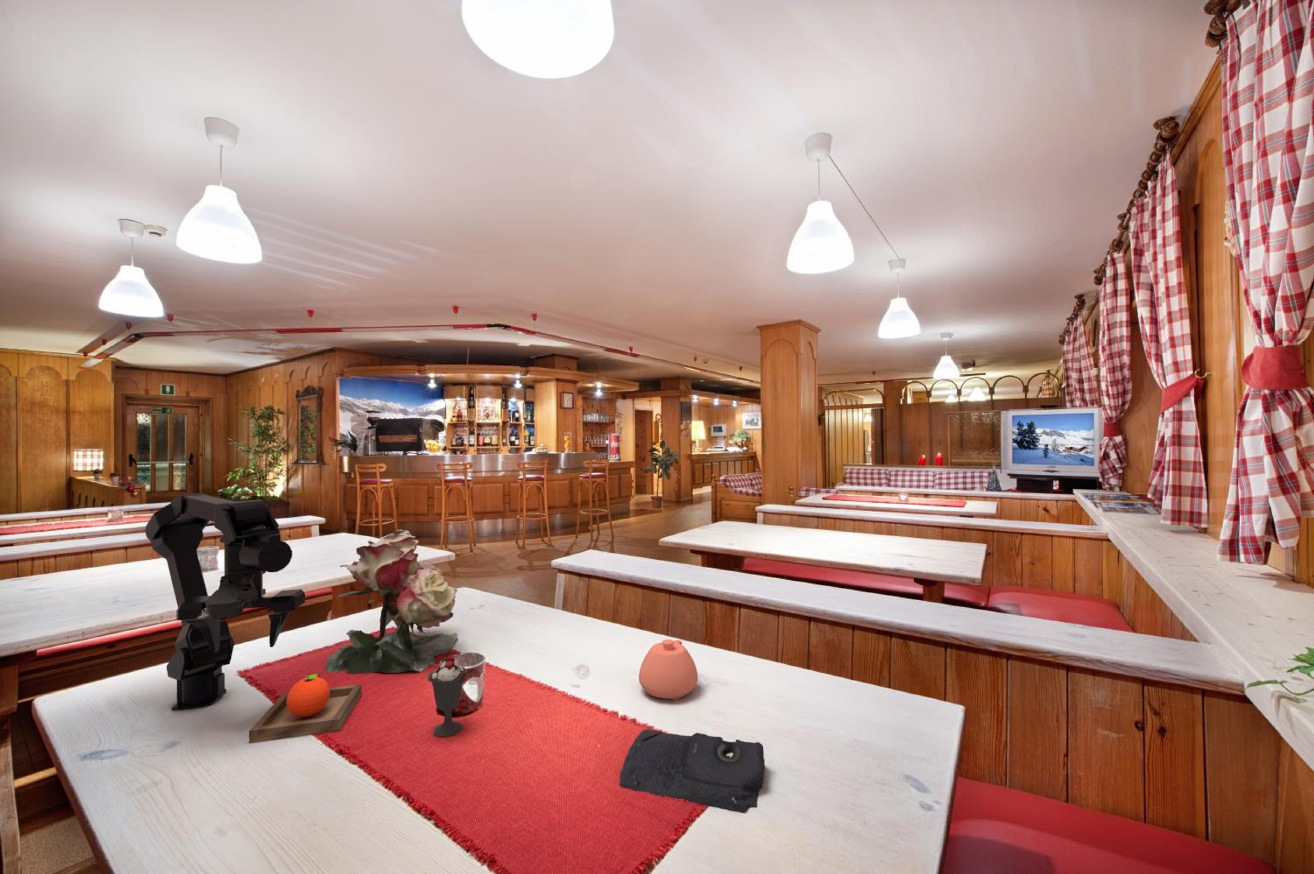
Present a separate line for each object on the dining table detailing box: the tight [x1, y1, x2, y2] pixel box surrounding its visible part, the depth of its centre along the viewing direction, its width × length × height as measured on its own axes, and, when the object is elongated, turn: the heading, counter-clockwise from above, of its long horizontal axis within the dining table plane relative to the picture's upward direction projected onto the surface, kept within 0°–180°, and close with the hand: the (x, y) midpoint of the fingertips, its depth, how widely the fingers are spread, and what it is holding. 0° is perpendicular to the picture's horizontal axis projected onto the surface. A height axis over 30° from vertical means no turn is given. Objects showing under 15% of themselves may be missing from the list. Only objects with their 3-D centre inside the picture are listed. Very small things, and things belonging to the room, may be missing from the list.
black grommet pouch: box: [619, 729, 766, 814], centre depth 82 cm, size 15×22×5 cm
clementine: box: [286, 673, 331, 717], centre depth 99 cm, size 8×7×7 cm
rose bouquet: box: [323, 529, 458, 674], centre depth 130 cm, size 26×29×30 cm
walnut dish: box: [248, 683, 363, 744], centre depth 99 cm, size 14×14×2 cm
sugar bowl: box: [638, 638, 699, 701], centre depth 109 cm, size 12×14×10 cm
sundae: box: [427, 648, 468, 738], centre depth 94 cm, size 7×7×15 cm
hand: (244, 649), depth 99 cm, fingers open, 9 cm apart
